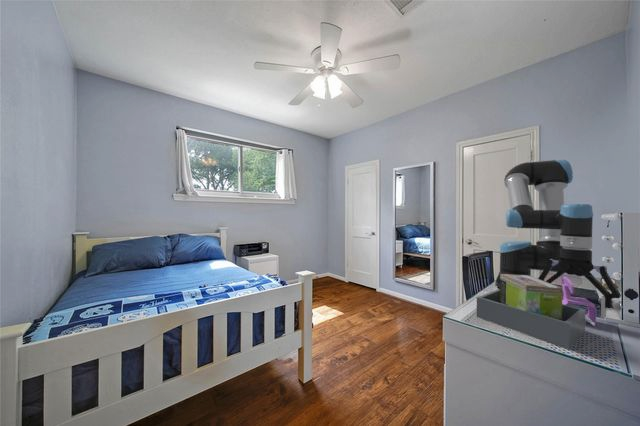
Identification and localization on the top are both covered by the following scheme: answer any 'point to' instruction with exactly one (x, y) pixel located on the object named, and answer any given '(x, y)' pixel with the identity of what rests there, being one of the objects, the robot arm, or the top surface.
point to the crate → (533, 320)
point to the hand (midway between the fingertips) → (574, 310)
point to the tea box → (531, 295)
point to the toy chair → (576, 298)
